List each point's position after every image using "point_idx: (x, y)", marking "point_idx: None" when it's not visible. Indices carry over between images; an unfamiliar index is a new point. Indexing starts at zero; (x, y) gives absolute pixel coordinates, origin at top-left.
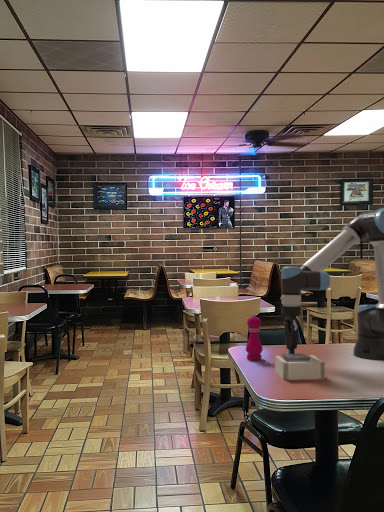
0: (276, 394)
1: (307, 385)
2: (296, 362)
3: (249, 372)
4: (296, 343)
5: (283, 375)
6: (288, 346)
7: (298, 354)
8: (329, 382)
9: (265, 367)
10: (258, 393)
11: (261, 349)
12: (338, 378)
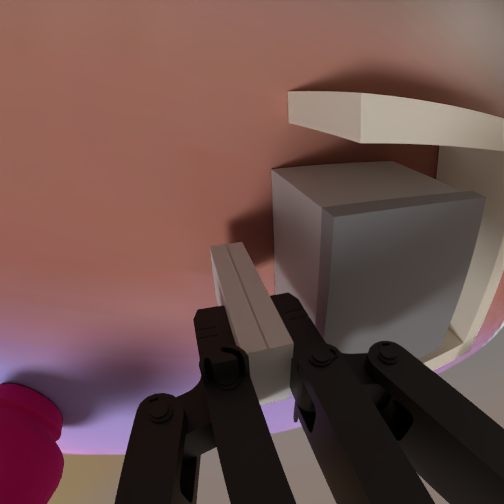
0: (494, 317)
1: None
2: (487, 298)
3: (288, 419)
4: (439, 385)
5: None
6: (299, 417)
7: (376, 282)
8: (488, 113)
9: (194, 383)
10: (471, 353)
11: (22, 437)
12: (448, 27)
